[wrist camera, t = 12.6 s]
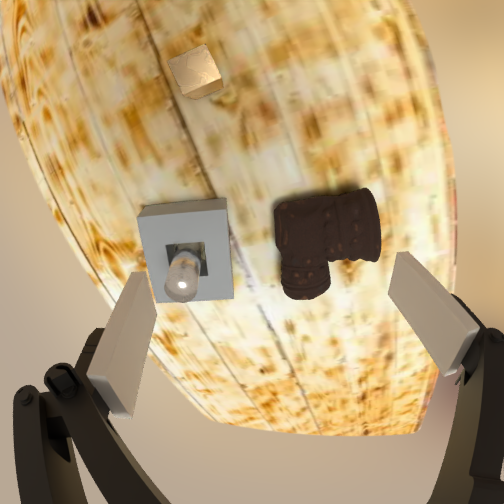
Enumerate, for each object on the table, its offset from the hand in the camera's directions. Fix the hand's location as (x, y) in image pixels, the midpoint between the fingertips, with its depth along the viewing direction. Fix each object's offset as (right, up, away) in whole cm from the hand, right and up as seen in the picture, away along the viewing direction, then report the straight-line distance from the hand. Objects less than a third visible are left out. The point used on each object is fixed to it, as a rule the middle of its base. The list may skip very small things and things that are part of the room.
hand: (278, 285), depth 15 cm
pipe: (+9, +5, +31) cm, 33 cm away
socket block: (-11, +3, +30) cm, 32 cm away
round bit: (-11, +3, +30) cm, 32 cm away
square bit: (-8, +24, +19) cm, 32 cm away
